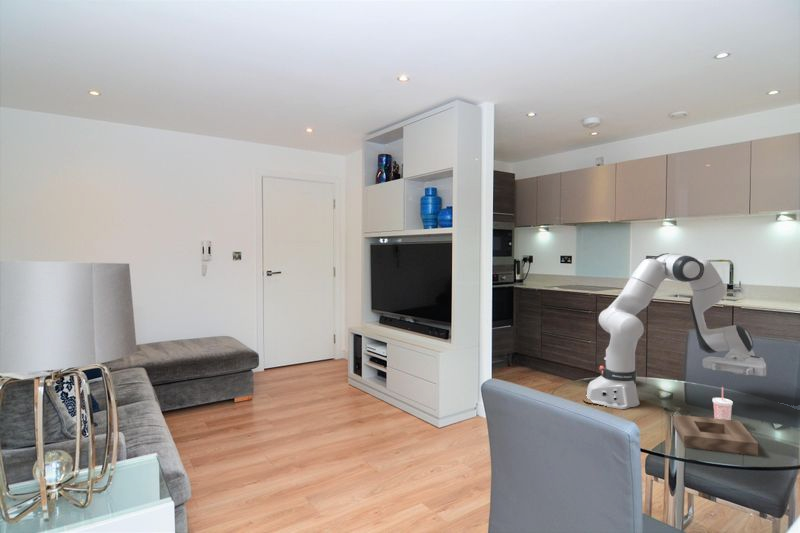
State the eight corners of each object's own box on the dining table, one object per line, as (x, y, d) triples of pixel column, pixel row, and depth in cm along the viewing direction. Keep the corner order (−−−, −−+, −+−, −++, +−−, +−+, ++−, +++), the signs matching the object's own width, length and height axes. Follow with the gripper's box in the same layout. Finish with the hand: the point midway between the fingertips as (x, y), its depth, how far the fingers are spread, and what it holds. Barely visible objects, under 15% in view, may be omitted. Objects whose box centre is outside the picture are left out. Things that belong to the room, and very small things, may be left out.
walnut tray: (684, 446, 146) (684, 435, 146) (673, 424, 163) (673, 414, 163) (758, 455, 139) (758, 443, 139) (739, 431, 155) (739, 420, 155)
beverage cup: (708, 422, 164) (708, 386, 163) (718, 419, 166) (718, 383, 165) (726, 429, 158) (726, 391, 157) (736, 425, 160) (736, 388, 159)
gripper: (706, 351, 186) (698, 358, 177) (768, 358, 171) (763, 367, 162) (706, 365, 186) (698, 374, 177) (769, 374, 172) (763, 383, 162)
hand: (730, 370), depth 169 cm, fingers open, 8 cm apart
